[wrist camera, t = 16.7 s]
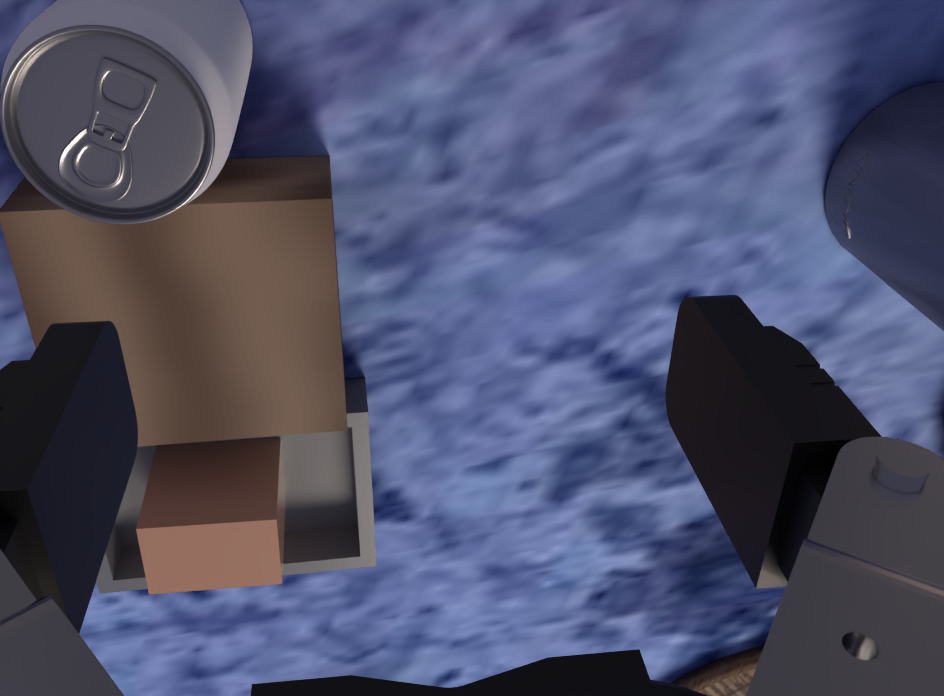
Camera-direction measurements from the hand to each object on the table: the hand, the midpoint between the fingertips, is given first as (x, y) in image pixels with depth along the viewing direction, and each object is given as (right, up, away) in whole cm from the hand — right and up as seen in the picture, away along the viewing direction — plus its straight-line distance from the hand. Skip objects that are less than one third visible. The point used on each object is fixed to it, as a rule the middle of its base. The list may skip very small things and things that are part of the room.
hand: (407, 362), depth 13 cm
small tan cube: (-11, -6, +29) cm, 31 cm away
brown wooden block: (-11, +3, +27) cm, 30 cm away
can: (-11, +13, +22) cm, 27 cm away
